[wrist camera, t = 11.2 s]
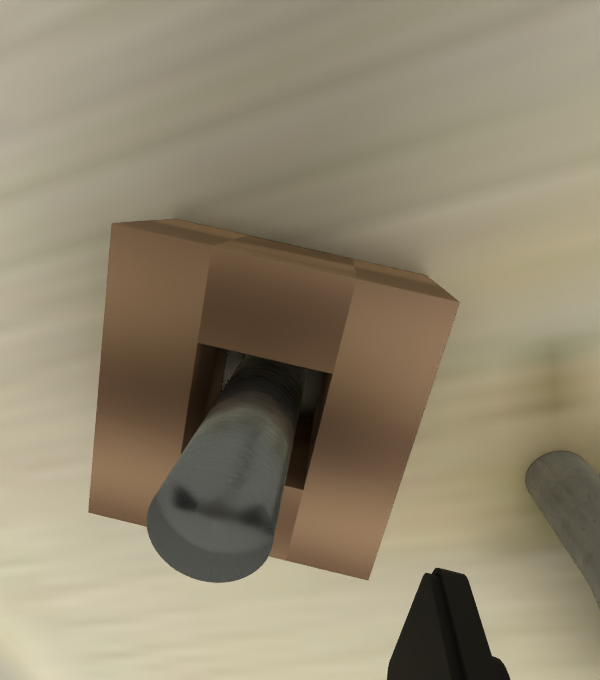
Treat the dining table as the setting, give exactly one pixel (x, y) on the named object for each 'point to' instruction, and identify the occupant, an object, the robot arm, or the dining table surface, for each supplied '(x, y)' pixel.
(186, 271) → the wooden square hole block
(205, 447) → the grey metal rod
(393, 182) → the dining table surface
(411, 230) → the dining table surface
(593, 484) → the hip flask
